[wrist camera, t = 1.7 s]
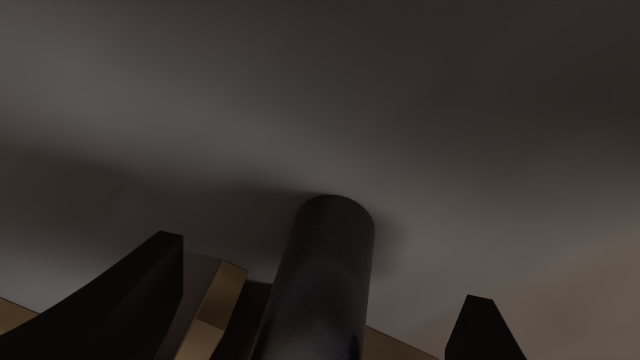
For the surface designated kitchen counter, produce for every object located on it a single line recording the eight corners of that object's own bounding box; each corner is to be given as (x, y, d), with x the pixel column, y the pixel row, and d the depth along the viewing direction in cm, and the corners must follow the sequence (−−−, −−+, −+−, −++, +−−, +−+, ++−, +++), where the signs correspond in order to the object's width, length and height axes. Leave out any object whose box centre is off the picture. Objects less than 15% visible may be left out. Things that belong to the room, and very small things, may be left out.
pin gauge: (389, 218, 15) (370, 518, 8) (351, 272, 16) (307, 569, 9) (314, 181, 15) (230, 460, 8) (281, 239, 16) (184, 521, 9)
